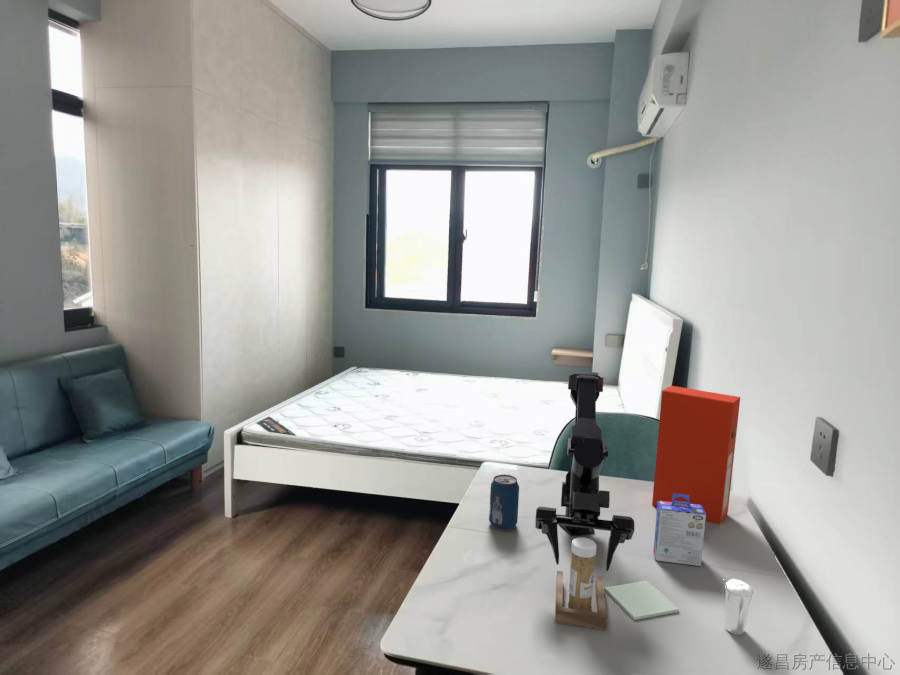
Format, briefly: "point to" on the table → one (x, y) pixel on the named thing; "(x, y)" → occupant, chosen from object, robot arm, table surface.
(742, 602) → the milkshake
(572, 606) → the sprinkles bottle
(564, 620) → the wooden holder
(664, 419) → the red box
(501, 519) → the soda can
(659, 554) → the ink cartridge box
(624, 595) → the pad
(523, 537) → the table surface
